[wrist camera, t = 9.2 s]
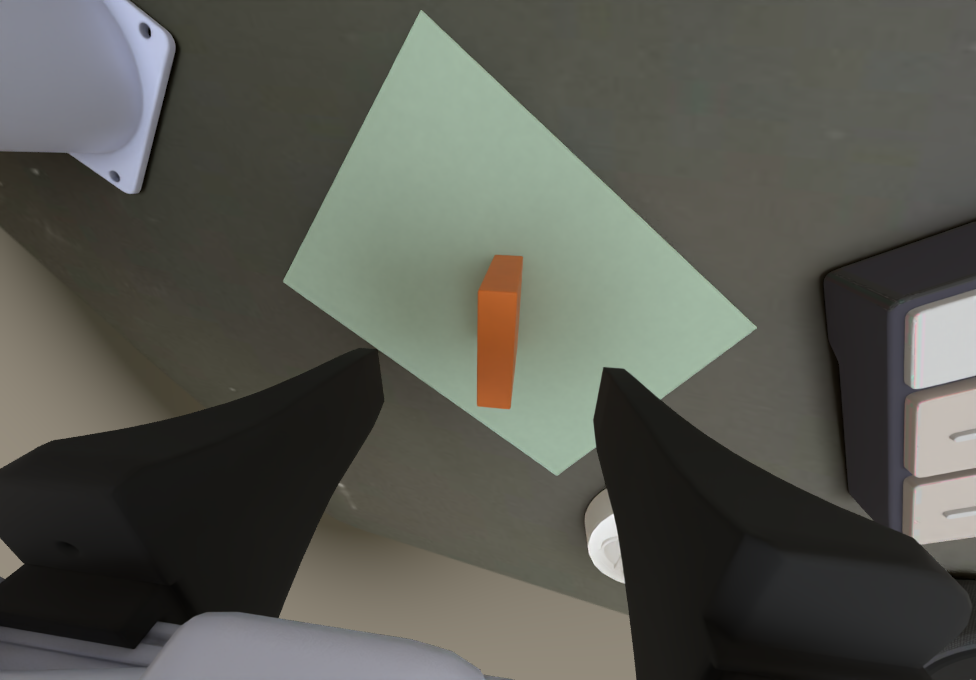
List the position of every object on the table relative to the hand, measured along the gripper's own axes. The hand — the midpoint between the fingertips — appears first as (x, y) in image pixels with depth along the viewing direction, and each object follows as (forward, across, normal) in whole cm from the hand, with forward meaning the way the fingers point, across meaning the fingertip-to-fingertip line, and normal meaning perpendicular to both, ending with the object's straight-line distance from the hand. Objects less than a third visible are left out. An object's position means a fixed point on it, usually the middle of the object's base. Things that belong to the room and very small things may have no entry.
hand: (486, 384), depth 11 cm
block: (+8, 0, 0) cm, 8 cm away
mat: (+8, 0, 0) cm, 8 cm away
